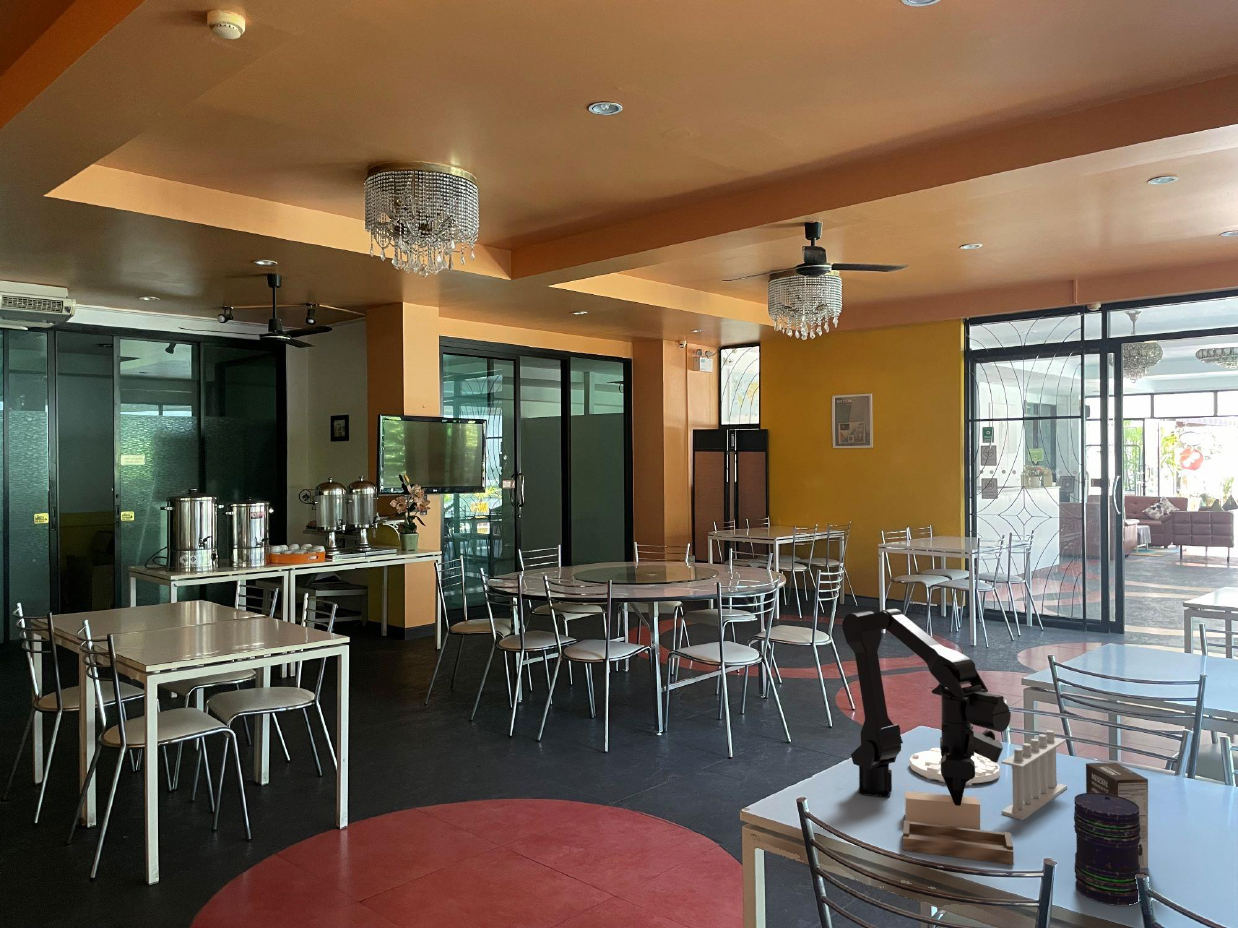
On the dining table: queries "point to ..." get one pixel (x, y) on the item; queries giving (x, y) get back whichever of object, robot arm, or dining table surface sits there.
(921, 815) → the clay bar
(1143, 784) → the coffee box
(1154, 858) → the dining table surface
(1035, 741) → the test tube rack
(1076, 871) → the storage jar
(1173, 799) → the dining table surface
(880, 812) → the dining table surface
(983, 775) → the embossed medallion
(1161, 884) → the dining table surface
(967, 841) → the cradle
